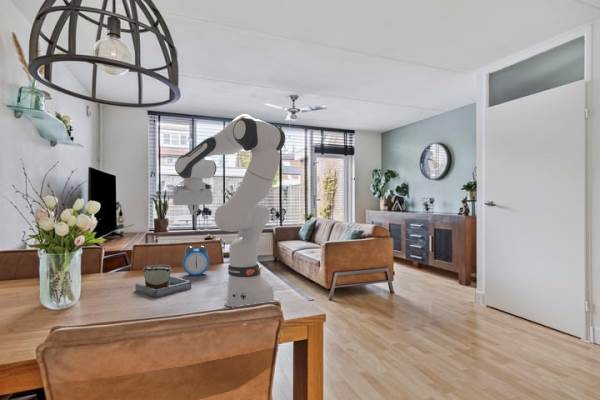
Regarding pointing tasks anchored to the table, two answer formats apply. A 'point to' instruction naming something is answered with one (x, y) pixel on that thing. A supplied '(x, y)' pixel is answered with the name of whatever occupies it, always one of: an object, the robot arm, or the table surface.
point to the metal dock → (180, 285)
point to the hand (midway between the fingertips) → (193, 214)
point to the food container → (157, 276)
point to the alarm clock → (196, 260)
